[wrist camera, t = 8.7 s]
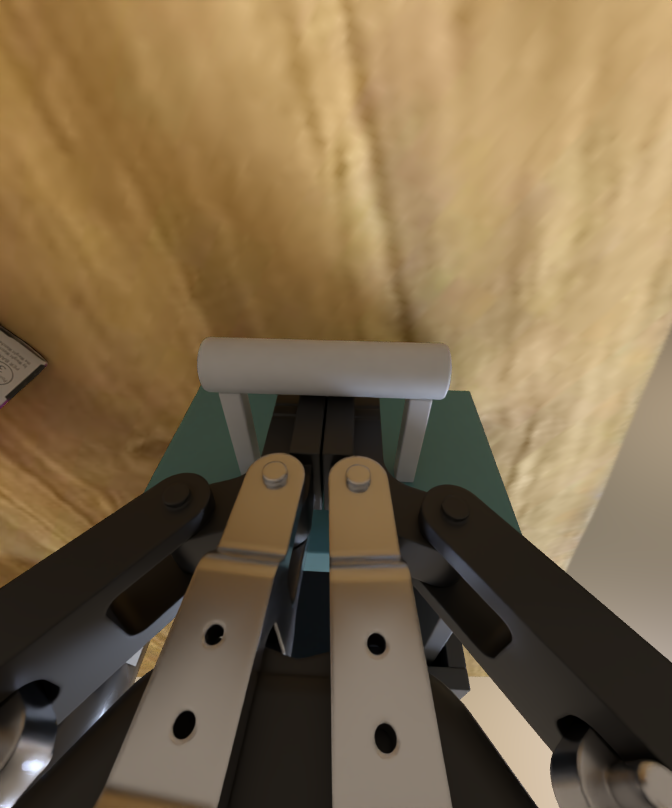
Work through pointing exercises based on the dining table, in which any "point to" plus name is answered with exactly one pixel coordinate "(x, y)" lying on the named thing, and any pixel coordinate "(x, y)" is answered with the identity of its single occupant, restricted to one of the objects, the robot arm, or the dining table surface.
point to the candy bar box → (16, 365)
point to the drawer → (348, 377)
